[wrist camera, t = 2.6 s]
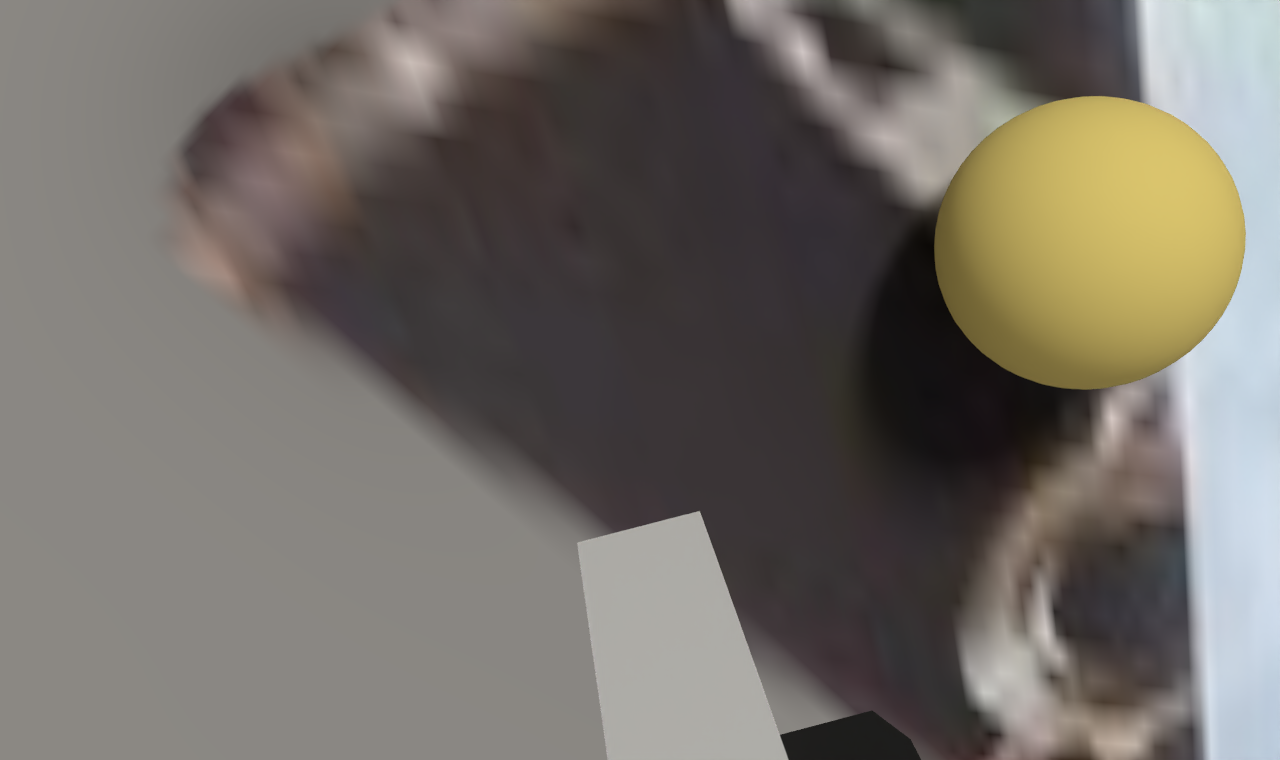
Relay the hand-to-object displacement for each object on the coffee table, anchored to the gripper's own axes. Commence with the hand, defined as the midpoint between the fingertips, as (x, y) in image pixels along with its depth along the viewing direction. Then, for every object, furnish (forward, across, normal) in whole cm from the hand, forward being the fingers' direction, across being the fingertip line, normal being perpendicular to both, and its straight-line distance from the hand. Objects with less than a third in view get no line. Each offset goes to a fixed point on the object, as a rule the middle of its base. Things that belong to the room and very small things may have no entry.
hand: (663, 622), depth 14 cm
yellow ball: (+9, +10, 0) cm, 13 cm away
